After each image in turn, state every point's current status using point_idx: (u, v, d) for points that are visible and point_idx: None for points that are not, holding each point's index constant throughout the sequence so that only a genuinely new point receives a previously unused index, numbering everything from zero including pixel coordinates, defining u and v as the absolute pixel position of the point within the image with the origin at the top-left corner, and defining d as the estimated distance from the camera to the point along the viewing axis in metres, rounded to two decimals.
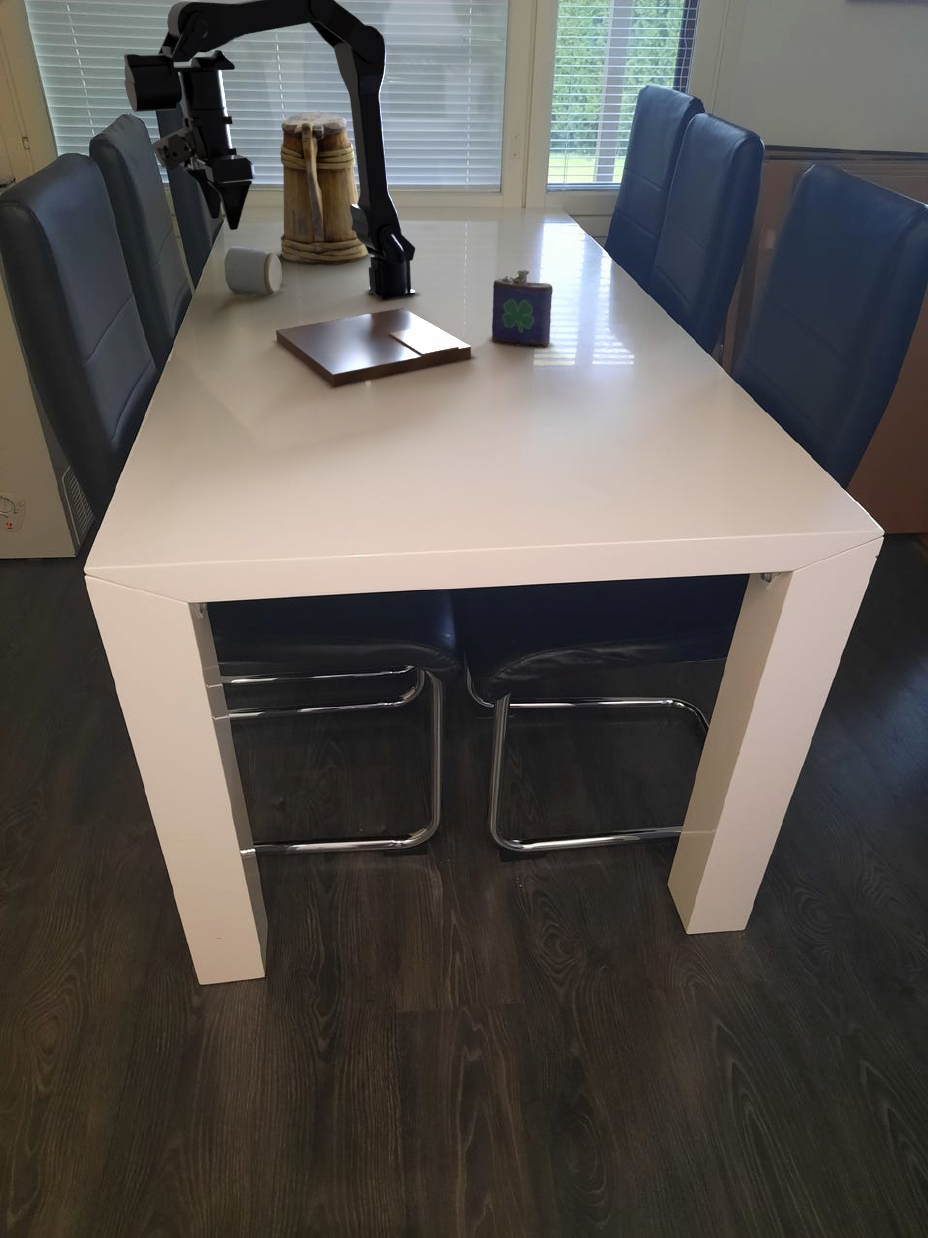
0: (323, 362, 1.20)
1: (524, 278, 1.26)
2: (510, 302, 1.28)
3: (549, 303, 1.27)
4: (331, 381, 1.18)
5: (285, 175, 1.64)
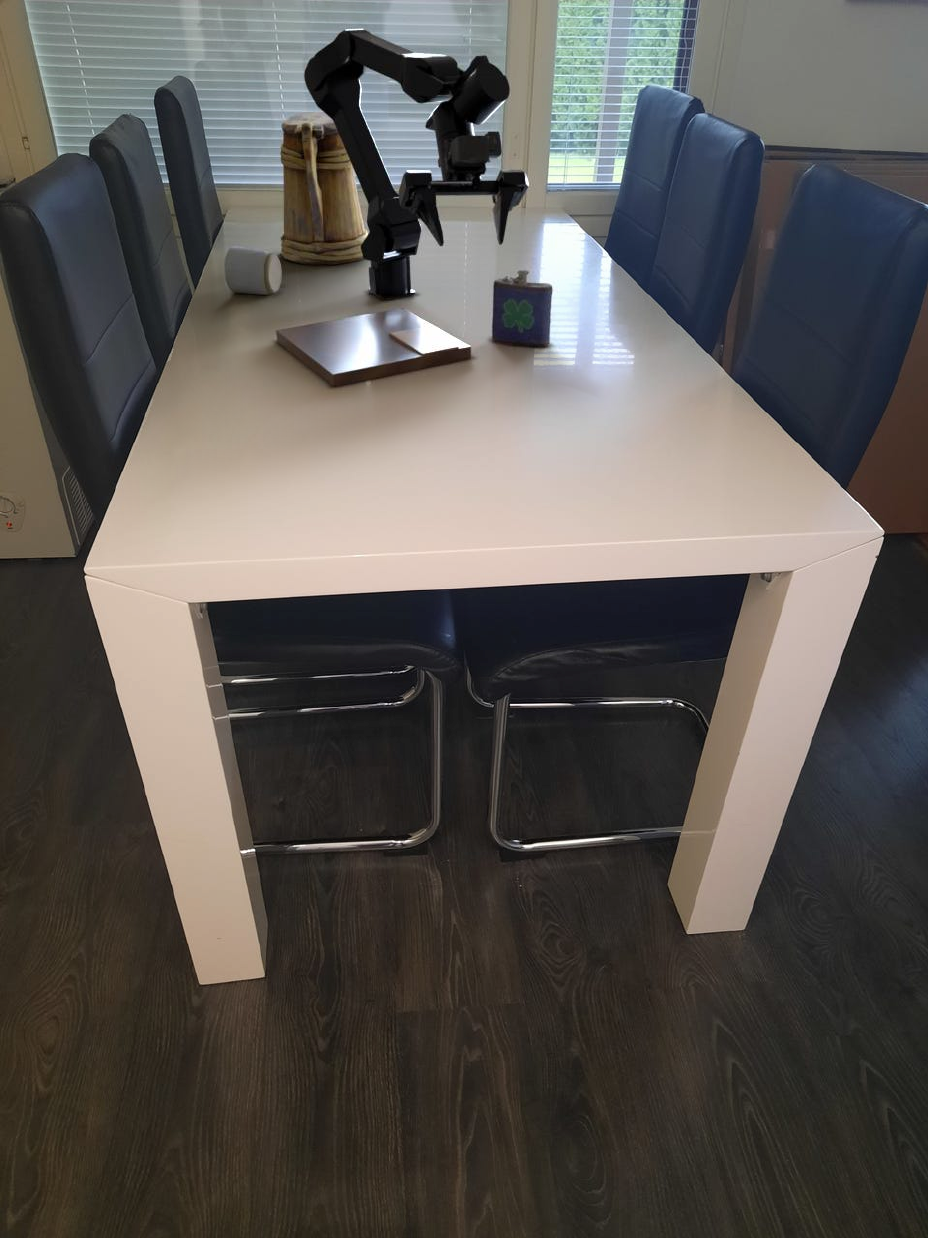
0: (323, 362, 1.20)
1: (524, 278, 1.26)
2: (510, 302, 1.28)
3: (549, 303, 1.27)
4: (331, 381, 1.18)
5: (285, 175, 1.64)
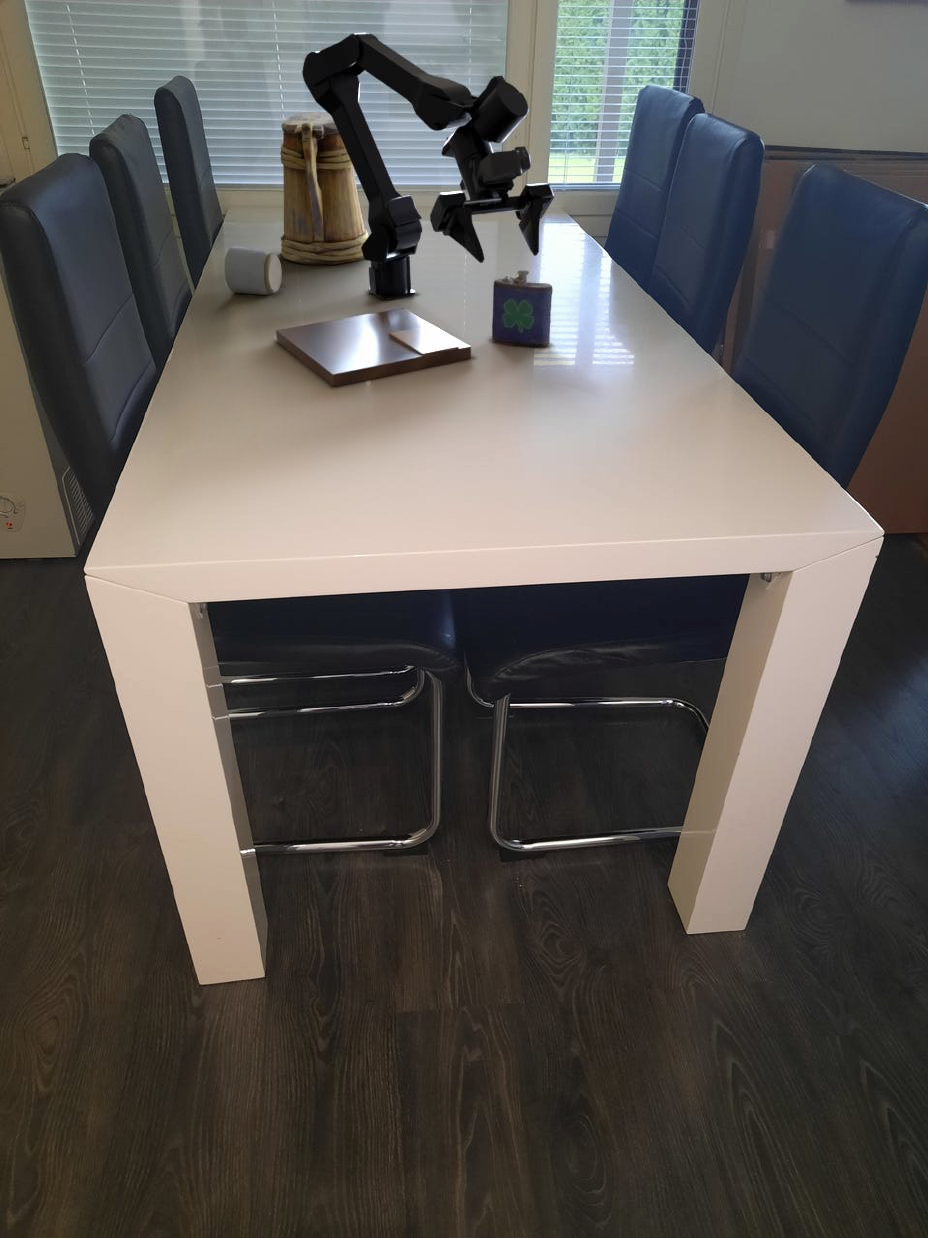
0: (323, 362, 1.20)
1: (524, 278, 1.26)
2: (510, 302, 1.28)
3: (549, 303, 1.27)
4: (331, 381, 1.18)
5: (285, 175, 1.64)
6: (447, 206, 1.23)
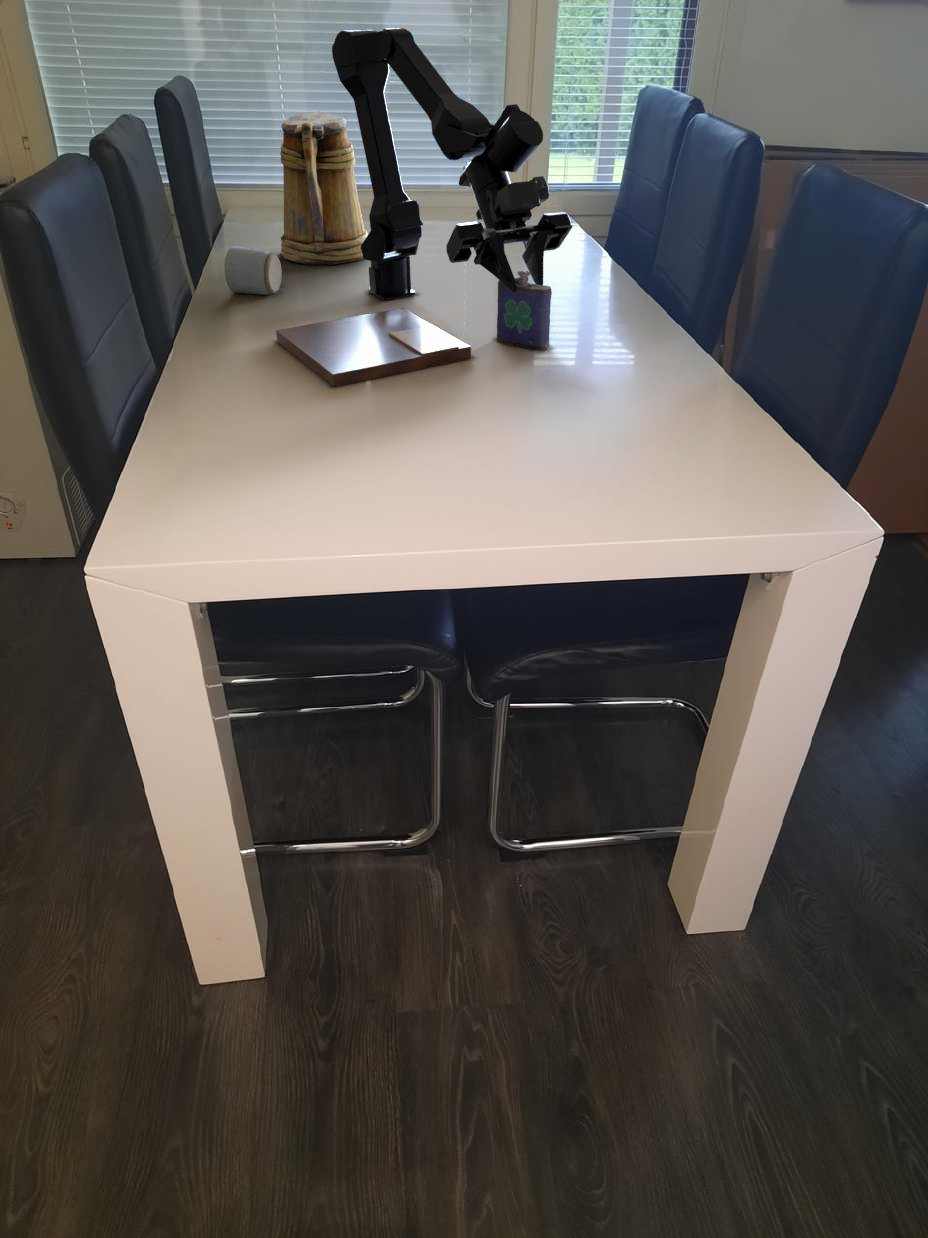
0: (323, 362, 1.20)
1: (524, 279, 1.25)
2: (510, 302, 1.28)
3: (547, 306, 1.25)
4: (331, 381, 1.18)
5: (285, 175, 1.64)
6: (464, 237, 1.21)
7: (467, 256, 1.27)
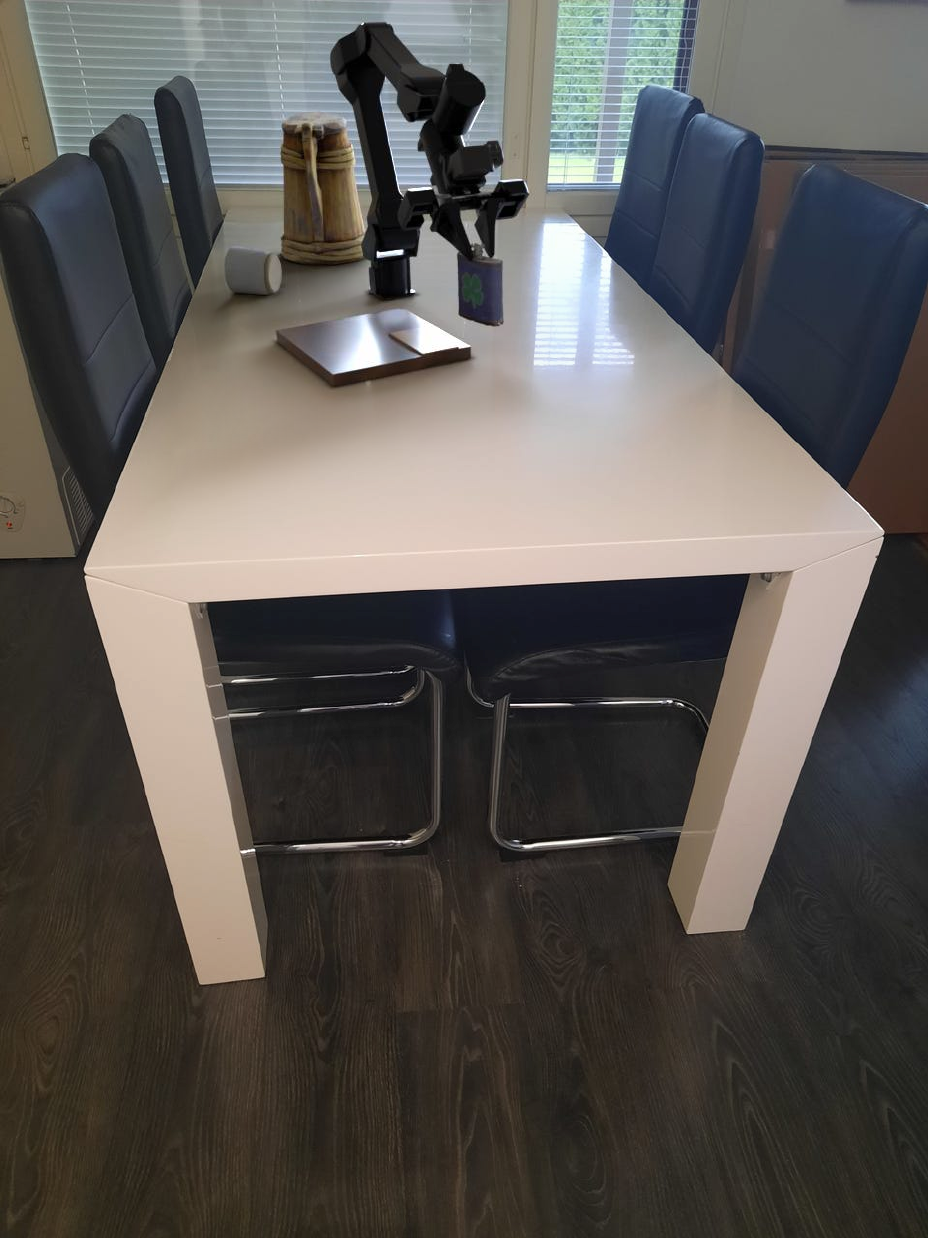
0: (323, 362, 1.20)
1: (477, 251, 1.21)
2: (465, 275, 1.24)
3: (497, 280, 1.21)
4: (331, 381, 1.18)
5: (285, 175, 1.64)
6: (415, 203, 1.16)
7: (420, 223, 1.22)
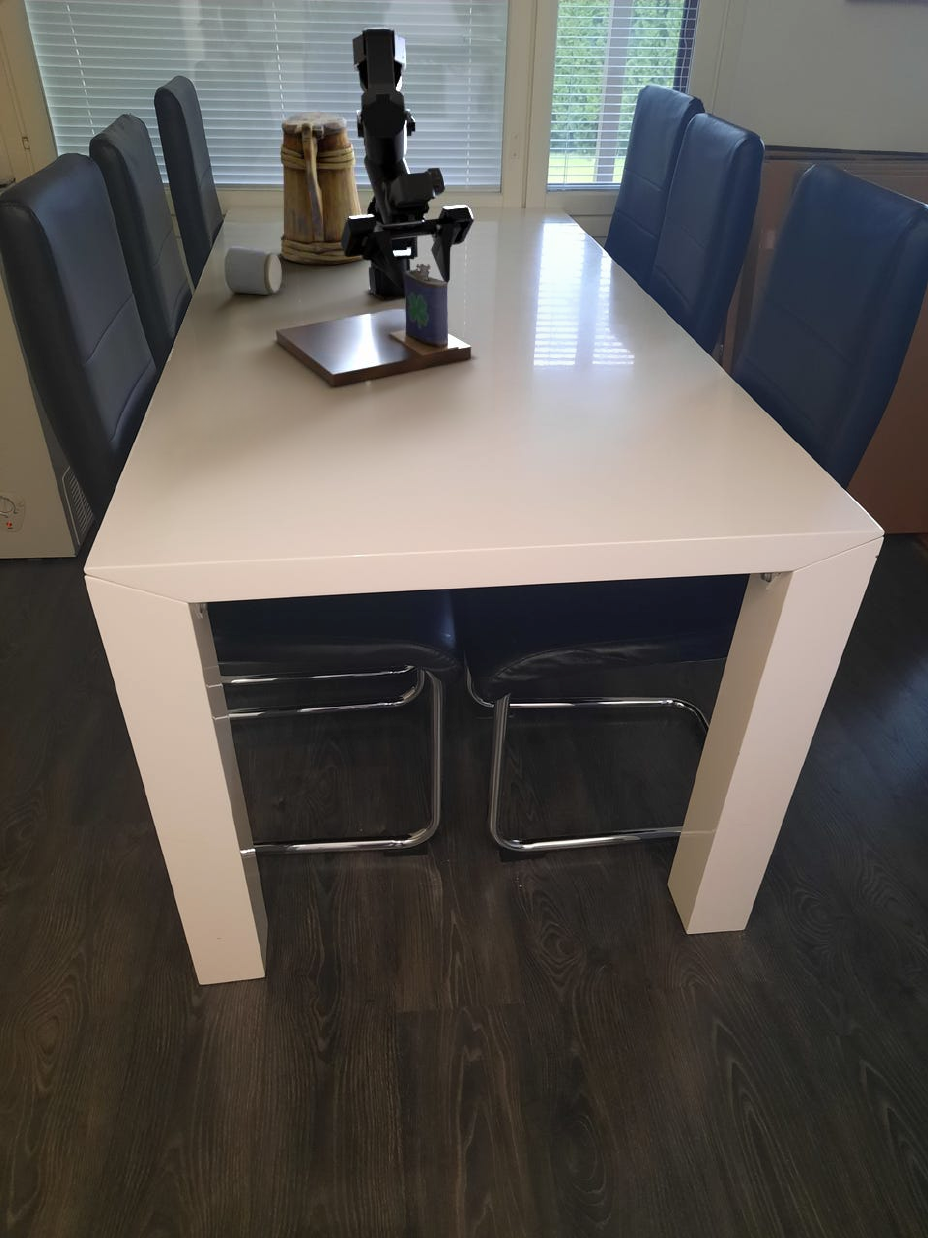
0: (323, 362, 1.20)
1: (422, 272, 1.21)
2: (411, 295, 1.23)
3: (441, 302, 1.20)
4: (331, 381, 1.18)
5: (285, 175, 1.64)
6: (355, 231, 1.16)
7: (363, 250, 1.22)
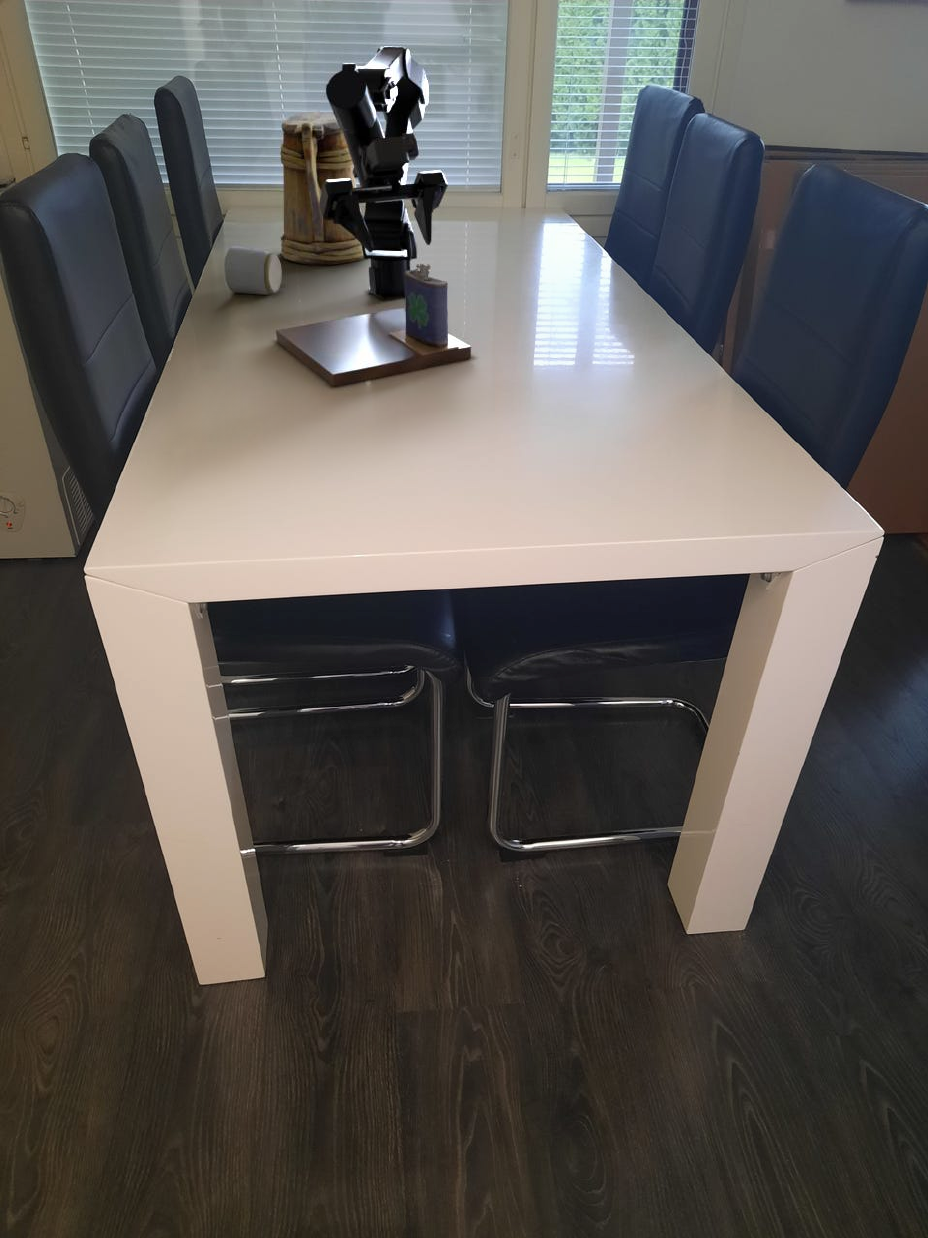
0: (323, 362, 1.20)
1: (422, 272, 1.21)
2: (411, 295, 1.23)
3: (441, 302, 1.20)
4: (331, 381, 1.18)
5: (285, 175, 1.64)
6: (332, 193, 1.21)
7: None
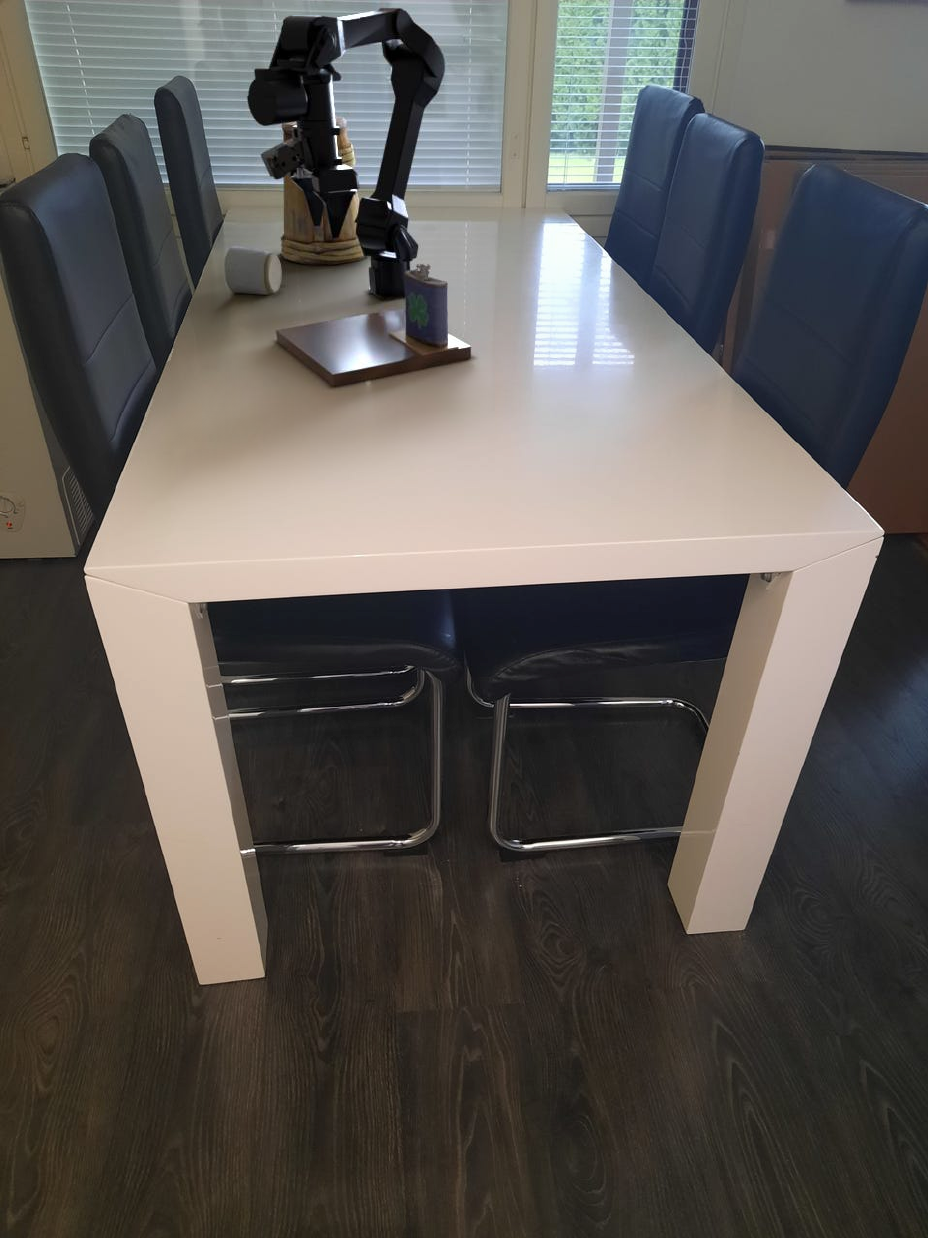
0: (323, 362, 1.20)
1: (422, 272, 1.21)
2: (411, 295, 1.23)
3: (441, 302, 1.20)
4: (331, 381, 1.18)
5: (285, 175, 1.64)
6: None
7: None
